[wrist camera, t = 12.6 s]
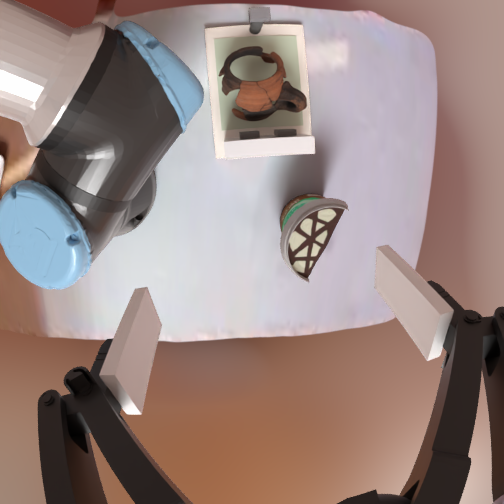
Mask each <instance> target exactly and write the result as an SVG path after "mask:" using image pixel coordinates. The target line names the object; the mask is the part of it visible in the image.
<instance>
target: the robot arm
mask: <svg viewBox="0 0 504 504" xmlns="http://www.w3.org/2000/svg"><path fill="white" fill-rule="evenodd" d="M203 98H204V92H203V87H202V85H201V83H200V82H199V80H198V79H197V77H196V76H195V75H194V74H193V72H192V71H191V70H190V69H189V68H188V67H187V66H186V65H185V63H184V62H183V61H182V60H181V59H180V58H179V57H178V56H177V55H176V54H174V53H173V52H172V51H171V50H170V49H169V48H168V47H167V46H166V45H164V44H163V43H161V42H158V40H157V39H156V38H155V37H154V36H153V35H152V34H151V33H149V32H148V31H147V30H145V29H144V28H142V27H141V26H139V25H138V24H136V23H134V22H131V21H124V22H122V23H121V24H119V25H117V26H116V27H115V28H114V30H113V29H111V28H109V27H108V26H106V25H104V24H103V23H101V22H97V23H93V24H89V25H85V26H82V27H79V28H71V27H69V26H67V25H65V24H63V23H61V22H59V21H57V20H55V19H53V18H51V17H49V16H47V15H45V14H43V13H41V12H39V11H36V10H34V9H32V8H30V7H28V6H26V5H23V4H21V3H19V2H16V1H14V0H0V116H3V117H6V118H9V119H12V120H15V121H18V122H20V123H21V124H22V126H23V129H24V131H25V134H26V137H27V140H28V142H29V144H30V145H31V146H34V147H37V148H40V150H39V152H38V154H37V156H36V158H35V160H34V163H33V165H32V167H31V169H30V172H29V174H28V176H27V178H26V179H25V180H22V181H18V182H17V183H15V184H13V185H12V186H11V188H10V189H9V190H8V191H7V192H6V193H5V194H4V195H3V197H2V199H1V201H0V242H1V244H2V246H3V248H4V251H5V254H6V256H7V258H8V259H9V261H10V262H11V264H12V265H13V266H14V267H15V269H16V270H17V271H18V272H19V273H20V274H21V275H22V276H23V277H25V278H26V279H27V280H29V281H30V282H32V283H33V284H35V285H37V286H40V287H42V288H46V289H53V288H54V289H59V290H60V289H64V288H67V287H69V286H71V285H73V284H74V283H75V282H76V281H77V280H78V279H79V278H80V277H83V276H84V275H85V274H86V273H87V272H88V270H89V268H90V266H91V264H92V262H93V261H94V260H95V259H96V257H97V256H98V255H99V254H100V253H101V251H102V250H103V249H104V248H105V247H106V245H107V244H108V243H109V242H110V241H111V240H112V238H113V237H115V236H120V235H123V234H126V233H128V232H130V231H132V230H133V229H135V228H136V227H137V226H139V225H140V224H141V223H142V221H143V220H144V219H145V218H146V216H147V215H148V214H149V212H150V210H151V208H152V206H153V203H154V200H155V196H156V179H155V174H154V171H153V170H154V169H155V167H156V166H157V164H158V163H159V162H160V160H161V159H162V158H163V156H164V155H165V153H166V152H167V151H168V149H169V148H170V147H171V146H172V144H173V143H174V142H175V140H176V139H177V138H178V136H179V135H180V134H182V133H184V132H185V129H186V128H187V124H188V123H189V121H190V120H191V119H192V117H193V116H194V115H195V113H196V112H197V111H198V109H199V108H200V107H201V105H202V103H203ZM374 288H375V289H376V290H377V292H378V293H379V294H380V295H381V297H382V298H383V299H384V301H385V302H386V304H387V305H388V306H389V308H390V309H391V310H392V312H393V313H394V314H395V316H396V317H397V319H398V320H399V321H400V323H401V324H402V325H403V327H404V328H405V330H406V331H407V333H408V334H409V335H410V337H411V338H412V340H413V341H414V342H415V344H416V345H417V347H418V348H419V350H420V351H421V353H422V354H423V356H424V357H425V359H426V360H427V361H429V360H431V359H433V358H436V357H438V356H440V354H441V351H442V348H443V347H444V349H445V350H446V351H447V353H446V356H445V359H444V361H443V364H442V367H441V368H443V371H442V375H441V380H440V384H439V388H438V392H437V396H436V400H435V404H434V408H433V411H432V415H431V418H430V422H429V425H428V428H427V431H426V434H425V437H424V440H423V443H422V446H421V449H420V452H419V454H418V457H417V460H416V462H415V465H414V468H413V470H412V472H411V475H410V477H409V479H408V481H407V483H406V484H405V486H404V488H403V489H402V491H401V493H400V495H399V496H398V495H392V494H377V491H376V490H373V491H370V492H367V493H364V494H361V495H357V496H354V497H350V498H347V499H345V500H343V501H341V502H339V503H337V504H459V502H460V499H461V496H462V493H463V490H464V487H465V484H466V480H467V477H468V473H469V470H470V465H471V458H469V457H468V453H469V448H470V444H471V440H472V434H473V430H474V425H475V419H476V413H477V406H478V399H479V392H480V382H481V371H482V372H483V377H484V383H485V389H486V396H487V403H488V411H489V421H490V433H491V450H492V494H493V502H494V503H493V504H504V307H498V308H497V309H496V310H495V313H494V316H491V317H482V316H481V315H480V314H479V313H477V312H476V311H473V310H464V309H463V308H462V307H461V306H460V305H459V304H458V303H457V302H456V301H455V300H454V299H453V298H452V297H451V296H450V295H449V294H448V293H447V292H445V290H444V289H443V288H442V287H441V286H440V285H439V284H437V283H435V282H433V281H428V282H426V281H425V280H424V279H423V278H422V277H421V276H420V275H419V274H418V273H417V272H416V271H415V270H414V269H413V268H412V267H411V266H410V265H409V264H408V263H407V262H406V261H405V260H404V259H402V258H401V257H400V256H399V255H398V254H397V253H396V252H395V251H394V250H393V249H392V248H391V247H390V246H389V245H385V246H380V247H376V270H375V286H374ZM161 327H162V324H161V322H160V319H159V317H158V314H157V312H156V309H155V306H154V304H153V301H152V299H151V296H150V293H149V291H148V288H147V287H145V288H138V289H135V290H134V293H133V295H132V297H131V299H130V301H129V304H128V306H127V308H126V310H125V313H124V315H123V317H122V320H121V322H120V324H119V327H118V329H117V331H116V334H115V336H114V339H107V340H106V341H105V342H104V343H103V344H102V345H101V347H100V349H99V352H98V355H97V357H96V361H94V364H93V366H92V369H91V371H90V372H89V371H88V369H86V368H85V367H82V366H81V367H76V368H73V369H72V370H70V371H69V372H68V373H67V374H66V375H65V378H64V385H65V386H66V388H67V389H68V390H69V391H70V393H71V394H67V395H64V396H61V395H60V394H59V393H58V392H57V391H56V390H48V391H46V392H44V393H43V394H42V395H41V397H40V398H39V400H38V434H39V450H40V461H41V470H42V477H43V485H44V491H45V497H46V503H47V504H108V503H107V500H106V497H105V494H104V491H103V487H102V484H101V481H100V477H99V473H98V470H97V466H96V462H95V458H94V454H93V450H92V445H91V441H90V436H89V433H91V434H92V435H93V437H94V439H95V441H96V443H97V445H98V446H99V448H100V450H101V452H102V453H103V455H104V457H105V458H106V460H107V462H108V463H109V465H110V467H111V468H112V470H113V472H114V473H115V475H116V476H117V477H118V479H119V481H120V482H121V484H122V485H123V487H124V488H125V490H126V491H127V493H128V494H129V495H130V497H131V498H132V500H133V501H134V502H135V504H193V503H192V502H191V501H190V500H189V499H188V498H187V497H186V496H185V495H184V494H183V493H182V492H181V490H180V489H179V488H178V487H177V486H176V485H175V484H174V483H173V482H172V481H171V479H170V478H169V477H168V476H167V475H166V474H165V472H164V471H163V470H162V469H161V468H160V467H159V465H158V464H157V463H156V462H155V460H154V459H153V458H152V457H151V456H150V454H149V453H148V452H147V450H146V449H145V448H144V447H143V445H142V444H141V443H140V441H139V440H138V439H137V437H136V436H135V434H134V433H133V432H132V430H131V429H130V427H129V426H128V425H127V423H126V422H125V420H124V419H123V417H122V416H121V415H120V411H121V407H122V408H123V410H124V411H125V412H126V414H142V409H143V405H144V400H145V395H146V390H147V386H148V381H149V377H150V372H151V368H152V364H153V359H154V355H155V350H156V346H157V343H158V339H159V335H160V331H161Z"/></svg>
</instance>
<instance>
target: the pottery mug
mask: <svg viewBox="0 0 504 504" xmlns="http://www.w3.org/2000/svg"><path fill="white" fill-rule="evenodd" d="M262 51H263V48H262V47H260V46H249V47H244V48H241V49H238V50H237V51H234V52H232V53H231V54H230V55H229V56H228V57H227V58H226V60H225V62H224V66H223V67H222V69H221V70H220V73H219V75H218V76H219V77H220V76H222V75H224V77H223V78H222V92H223V93H224V94H225V95H226V96H227V95H228V94H229V92H231V91H233V90H237V89H240V91H239V92H238V95H237V98H236V100H235V102H236V104H237V105H238V106H239V107H242V111H243V112H241V111H239V110H237V109H235V108H233V109H232V112H233V114H234V115H235V116H236V117H238V118H240V119H242V120H246V121H260V120H263V119H266V118H268V117H269V116H271V115H272V114H273V113H274V112H276V111H277V110H287V111H290V112H295V113H298V112H301V111H302V110H304V109H306V107H307V99H306V96H305V95H304V93H302V92H301V91H300V90H298V89H296V88H294V87H292V86H291V84H290V83H289V81H285V82H284V83H283V81H284V80H283V78H286V77H287V76H286V71H285V68H284V64H283V61H282V59H281V58H280V56H279V55H278V54H277V53H275V52H271V53H270V54H268V53H264V52H262ZM248 55H253V56H260V57H261V58H262V59H263V61H264V62H266V63H272V64H274V63H276V65H277V70H276V72H275V74H274V75H272V76H271V77H269V78H267V79H265V80H261V81H257V82H256V81H245V80H241V79H239V78H237V77H236V76H234V75H233V74H232V72H231V70H230V66H231V64H232V62H233V61H234V60H236V59H238V58H240V57H243V56H248ZM272 101H276V102H275V103H274V104H273V103H272Z"/></svg>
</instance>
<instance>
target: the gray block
mask: <svg viewBox="0 0 504 504" xmlns="http://www.w3.org/2000/svg"><path fill="white" fill-rule="evenodd" d="M270 19H271V15H270V8H249V21H250V22H251V24H250V28H249V31H250V33H252V34H258V33H260V31H261V28H262V26H263V23H264V22H269V21H270Z"/></svg>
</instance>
